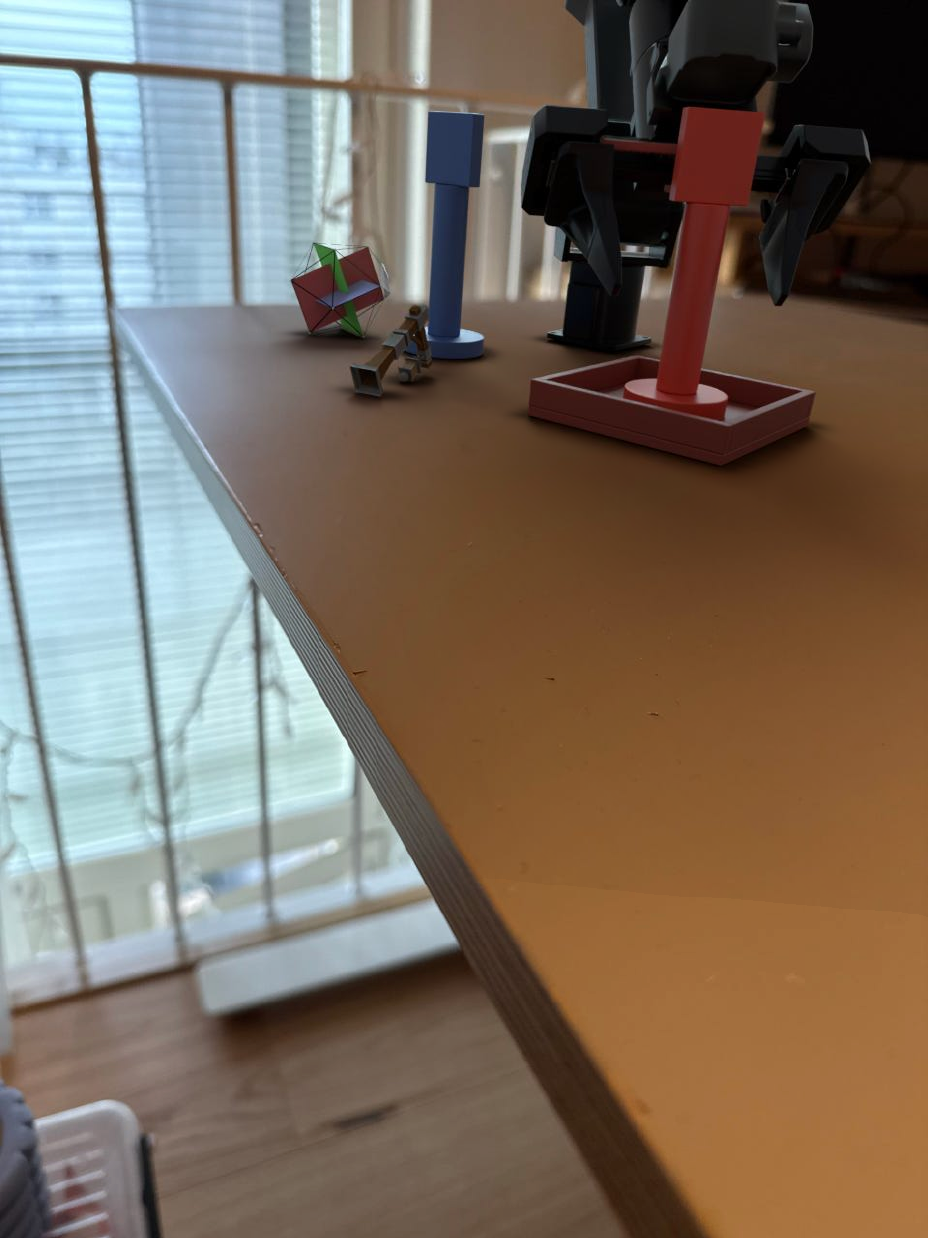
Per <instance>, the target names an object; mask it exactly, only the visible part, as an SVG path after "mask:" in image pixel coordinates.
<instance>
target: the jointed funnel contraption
mask: <svg viewBox="0 0 928 1238" xmlns="http://www.w3.org/2000/svg"><path fill="white" fill-rule="evenodd" d="M404 319H405V320H404V321H403V322H402V323H401V325H400V326H399V327H398V328H393V330H392V333H389V335H388V337H387V338H386V339H385V341H384V342H382V343H381V348H380V349H379V351H378V352H377V353H376V354H374V355H373V356H372V357H371V358H370V359H368V360H367V361H366V362H365V363H364V364H358V363H355V362H354V363H352V365H349V366H348V367H349V370H350V374H351V379H352V383H353V387H354V391H355V392H356V393H361V394H366V395H371V396H377V397H382V394H383V393H384V388H383V384H382V380H383V379H384V377H385V375H386V373H387V372H388V370H389V368H390V366H391V365H392V364H393V362H394V361H395V360H396V361H398V360H399V359H400V356H402V354H403V353H404V352H406V351H405V350H407V349H406V347H409V345H410V344H411V343H410V339H411V340H412V341H413V342H414V343H416V345H417V349H416V353H417V355H415V356H414V355H412V357H409V356H405V357H404V363H403V364H401V365H400V366H397V369H398V379H399V381H400V382H403V383H405V382H412V383H414V379H415V377H416V376H417V375H418V374H420V375H421V374H422V373H423V371H422V368H424V369H430V368H431V366H432V365H433V362H432V358H431V357H430V356H431V355H432V354H431V349H430V346H428V342H427V336H426V331H425V327H426V326H425V325H426V323H428V321H429V320H430V319H429V305H427V304H425V303H423V304H422V303H421V304H420V305H419V304H413V305H411V306H410V307H409V309H408V313H407V314H406V315H404ZM414 335H415V336H414Z"/></svg>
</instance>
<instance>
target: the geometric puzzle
mask: <svg viewBox="0 0 928 1238" xmlns="http://www.w3.org/2000/svg"><path fill="white" fill-rule="evenodd" d="M332 245H335V246H340V244H338V243H337V244H336V243H332ZM346 246H348V247H347V248H345V250H350V249H351V250H353V247H354V245H351V244H346ZM313 248H315V251H316V254H317V257H318V260H317V261H316V262H314V263H313V264H312V265H310V266H309V262H310V259H311V256H312V251H313ZM356 249H359V250H357V251H355V252H352V253H350V254H347V255H345V256H344V255H343V254H342V253H340V252H339V251H341V250H343V248H337V249H336V248H331V247H328V246H326V243H323V242H315V241H312V244H311V246H310V248H309V249H308V251H310V253H309V256H308V259H307V263H306V268H305V269H304V270H303V271H302V272H300V273H299V274H297V275H295V274H296V272H297V271H295V272H294V274H293V275H292V277H291V278H289V282H290V283H291V285H292V288H293V291H294V294H295V296H296V299H297V302H298V305H299V308H300V310H301V313H302V316H303V318H304V322H305V323H306V327H307V329H308V334H309V335H311V334H317V335H321V333H319V332H325V331H330V330H334V329H340V328H344V329H345V330H348V331H350V332H352V333H354V334H356V335H357V336H358V337H359V338H360V337H361V338H365V337H366V336H365V335H366V334H367V332H368V330H369V328H368V327H369V326H371V324H372V322H373V321H374V319H375V317H373V318H372V321H371V317H372V315H373V311H374V309H375V306H376V305H378V304H383V302H384V301H385V300H386V298H388V297H389V296H390V295H391V290H390V289H391V288H390V285H389V283H388V282H390V277H389V273H388V272H387V268H386V267H385V264H383V263H382V262H381V260H380V259H379V258H378V257H377V255H376V254H375V253H374V252H373V251H372V250H371V248H370V246H369V245H366V246H365V245H360V246H356ZM337 253H338V254H339V255H340V256H341V257H340V258H339V257H338V254H337ZM307 254H308V253H306V254H305V256H304V258H303V259H302V261H301V263H300V264H299V266H298V267H297V269H299V268H300V266H301V265H302V262H303V261H304V259H305V258H306V256H307ZM372 255H373V256H372ZM373 257H374V258H375V261H376V262H377V263H378V265H379V268H380V279H379V275H378V273H377V269H376V266H375V264H374V261H373ZM318 263H320V266H319V267H318V268H315V269H313V270H311V271H308V272H307V270H309V269H310V268H312V267H313V266H315V265H317V264H318ZM308 266H309V267H308ZM303 273H304V274H303ZM387 281H388V282H387ZM366 308H367V309H366ZM380 308H381V306H379V308H378V309H377V311H376V313H375V315H377V313H378V312H379V309H380ZM364 309H366V310H364ZM371 309H372V311H371V312H370V317H369V319H368V322H367V325H366V327H365V330H364V333H363V329H362V327H361V324H360V321H359V318H358V317H360V316H361V315H363V314H364V313H366V312H367V311H369V310H371ZM362 310H364V311H363V312H361V313H359V314H357V312H359V311H362ZM338 321H339V322H338ZM370 321H371V322H370ZM334 323H336V324H337V325H339V326H334V327H329V328H324V327H327V326H329V325H332V324H334ZM369 324H370V325H369ZM323 328H324V329H323ZM328 335H331V336H336V334H334V333H333V334H332V333H328ZM343 336H347V337H351V335H349V334H345V335H344V334H343Z"/></svg>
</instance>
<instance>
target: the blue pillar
mask: <svg viewBox="0 0 928 1238" xmlns="http://www.w3.org/2000/svg"><path fill="white" fill-rule="evenodd" d="M484 128H485V114H484V113H476V112H457V111H439V110H428V111H427V129H426V151H425V152H426V154H425V155H426V156H425V177H424V182H425V183H426V184H434V191H433V211H432V213H433V214H432V233H431V252H430V253H431V254H430V274H429V276H430V278H429V296H428V298H429V300H428V308H429V313H428V314H429V319H430V320H429V321H427V326H425V331H426V336H427V342H428V346H430V349H431V354H432V355H431V356H430V357H431V359H439V360H440V359H441V360H466V359H467V360H468V359H474V358H475V359H476V358H479V357H481V356H482V355H484V349H485V348H484V346H485V336H484V335H483V334H482V333H479V332H476V331H472V330H468V329H463V328H461V327H462V310H463V298H464V297H463V295H464V282H465V281H464V280H465V279H464V278H465V267H466V266H465V265H466V264H465V263H466V251H467V250H466V248H467V235H468V233H467V232H468V216H469V214H468V213H469V201H470V188H480V186H481V174H482V161H483V160H482V158H483V144H484V130H485V129H484ZM414 336H415V335H414ZM410 343H411V344H410V345H409V347H406V349H407V350H405V351H404V352H407V353H409V354H411V355H415V356H417V353H416V349H417V345H416V343H414V342H413V341H412V340H411V339H410Z"/></svg>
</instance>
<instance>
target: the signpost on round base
mask: <svg viewBox="0 0 928 1238" xmlns="http://www.w3.org/2000/svg"><path fill="white" fill-rule="evenodd" d="M765 117H766V113H765V112H762V111H758V112H750V111H738V110H725V109H713V108H700V107H684V108H683V112H682V119H681V125H680V132H679V138H678V145H677V151H676V158H675V164H674V171H673V177H672V184H671V190H670V197H669V200H671V201H675V202H684V203H685V207H684V213H683V219H682V222H681V225H680V233H679V239H678V245H677V252H676V258H675V264H674V269H673V270H674V271H673V277H672V283H671V289H670V294H669V301H668V308H667V313H666V319H665V326H664V333H663V339H662V345H661V351H660V356H659V357H660V358H659V360H660V363H659V369H658V375H657V379H639V380H633V381H630V382H628V383H626V384H625V386H624V393H623V398H624V399H628V400H632V401H637V402H641V403H645V404H649V405H654V406H658V407H662V408H666V409H671V410H675V411H679V412H683V413H687V414H692V415H696V416H700V417H704V418H709V419H713V420H717V421H721V420H722V419H723V418H724V417H725V412H726V407H727V402H728V396H727V394H726V393H724V392H722V391H720V390H718V389H716V388H713V387H710V386H706V385H702V384H699V379H700V374H701V368H703V362H704V356H705V350H706V346H707V341H708V334H709V329H710V324H711V317H712V313H713V308H714V307H713V306H714V302H715V296H716V295H715V294H716V290H717V284H718V278H719V274H720V268H721V263H722V256H723V251H724V247H725V241H726V236H727V230H728V224H729V219H730V213H731V206H733V207H748V206H749V201H750V198H749V197H750V191H751V186H752V181H753V176H754V170H755V165H756V160H757V155H759V154H758V153H759V148H760V143H761V138H762V133H763V128H764V121H765Z"/></svg>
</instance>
